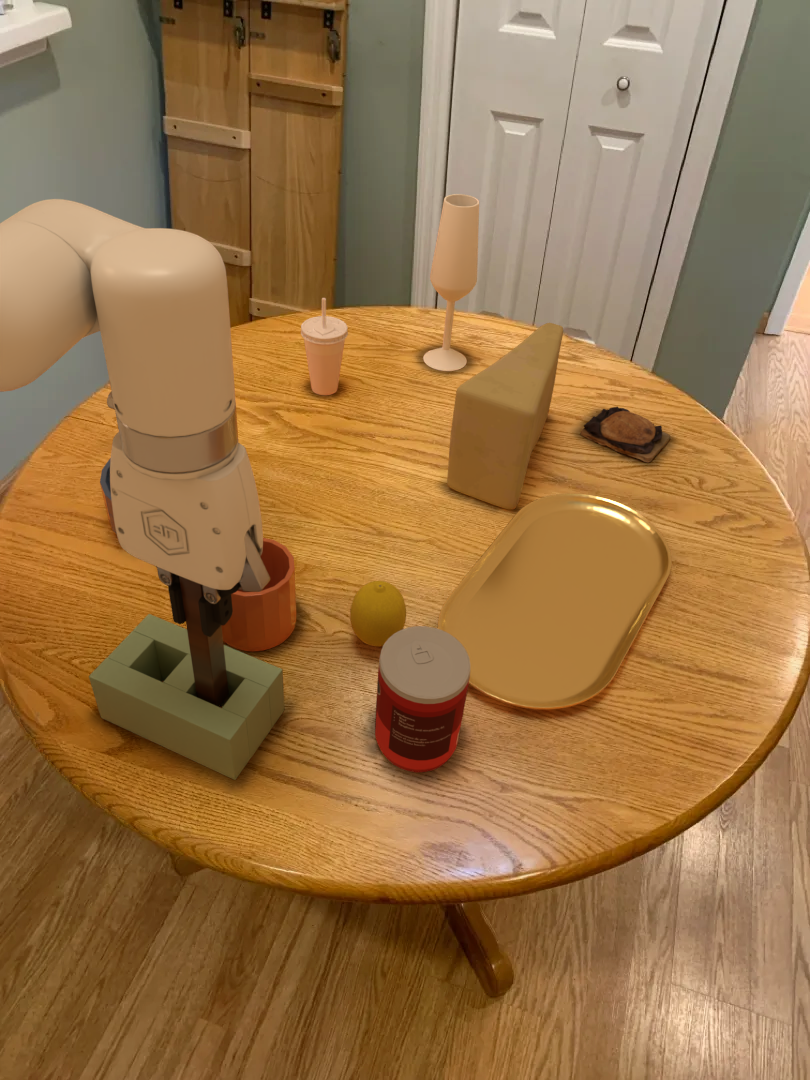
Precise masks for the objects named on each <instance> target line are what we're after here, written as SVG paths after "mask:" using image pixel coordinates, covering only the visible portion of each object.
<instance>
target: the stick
mask: <svg viewBox="0 0 810 1080" xmlns="http://www.w3.org/2000/svg"><path fill="white" fill-rule="evenodd" d="M179 579H180V586H181V591H182V598H183V605H184V612H185V619H186V621H185V626H186V629H187V633H188V640H189V647H190V653H191V660H192V667H193V674H194V680H195V687H196V694H197V698H200V699H202V700H204V701H206V702H209V703H211V704H213V705H215V706H218V707H221V706H220V705H221V704H222V702H223V701H224V700H225V698H226V697H227V696H228V695H229V691H228V681H227V672H226V662H225V653H224V645H225V643H224V641H223V634H222V625H221V626H220V627H219V628H218V629H217V630H216V632H215V633H214V634H213V635H212V636H211V637H208V636H206V635H204V634H203V632H202V627H201V620H200V612H199V604H198V602H199V599H200V598H201V597H202V596H204V593H203V586H202V584H199V583H196V582H194V581H191V580H189V579H186V578H184V577H181V576H179Z"/></svg>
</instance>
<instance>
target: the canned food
mask: <svg viewBox="0 0 810 1080" xmlns="http://www.w3.org/2000/svg"><path fill="white" fill-rule="evenodd" d="M469 678H470V660H469V656H468V654H467V651H466V650H465V648H464V647H463V645H462V644H461V643H460V642H459V641H458V640H457V639H456V638H455V637H453V636H452V635H450V634H449V633H447V632H445V631H443V630H440V629H438V627H437V628H436V627H434V626H426V625H416V626H409V627H404V628H403V629H402V630H400V631H398V632H396V633H394V634H393V635H392V636H391V637H390V638H388V640H387V641H386V642H385V644H384V645H383V646H382V648H381V650H380V654H379V659H378V668H377V682H376V683H377V685H376V702H375V718H374V736H375V740H376V744H377V746H378V748H379V750H380V751H381V754H382V755H383V756H384V757H385V759H386V760H387V761H389V762H390V763H391V764H392V765H393V766H395V767H397V768H399V769H400V770H404V771H406V772H410V773H427V772H431V771H434V770H437V769H439V768H440V767H442V766H443V765H445V764H446V763H447V762H448V760H450V758H451V757H452V756H453V754H454V753H455V751H456V749H457V746H458V743H459V737H460V732H461V728H462V724H463V723H462V722H463V718H464V711H465V706H466V701H467V697H468V696H467V694H468V691H469V686H470V685H469Z"/></svg>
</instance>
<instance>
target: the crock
mask: <svg viewBox="0 0 810 1080" xmlns="http://www.w3.org/2000/svg"><path fill="white" fill-rule="evenodd" d="M260 557H261V559H262V561H263V564H264V566H265V568H266V570H267V572H268V574H269V576H270V581H269V582H268V584H267V585H266V586H265V587H264V588H263V589H262V591H261V592H249V591H243V590H238V591H237V592H235V593H233V594H231V597H232V608H233V612H232V616H231V618H230V619H229V621H228V622H227V623H226V624H225V625H222V634H223V643H224V644H227V646H229V647H230V648H233V649H235V650H238V651H244V652H262V651H267V650H271V649H273V648H276V647H277V646H279V645H281V644H283V643H284V642H285V641H287V640H288V639H289V638H290V636H291V635H292V634H293V632H294V631H295V628H296V624H297V595H296V594H297V593H296V568H295V557H294V555H293V554H292V553H291V551H290V550H289V549H288V547H287V546H285V545H284V544H282V543H280V542H279V541H277V540H275V539H271V538H266V537H263V551H262V554H261V556H260Z"/></svg>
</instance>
